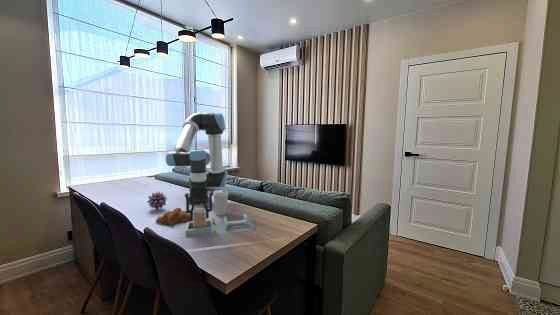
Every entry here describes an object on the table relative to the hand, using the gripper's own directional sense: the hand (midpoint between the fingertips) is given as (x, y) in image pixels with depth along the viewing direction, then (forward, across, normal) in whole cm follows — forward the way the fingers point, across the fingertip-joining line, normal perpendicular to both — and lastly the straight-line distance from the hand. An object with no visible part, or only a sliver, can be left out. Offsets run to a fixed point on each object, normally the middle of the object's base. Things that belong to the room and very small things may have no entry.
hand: (199, 225), depth 123 cm
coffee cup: (+4, +12, +22) cm, 25 cm away
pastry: (+4, -13, +18) cm, 23 cm away
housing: (+3, +9, 0) cm, 10 cm away
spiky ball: (+4, -27, +44) cm, 52 cm away
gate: (+2, +18, 0) cm, 18 cm away
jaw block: (0, 0, 0) cm, 0 cm away
